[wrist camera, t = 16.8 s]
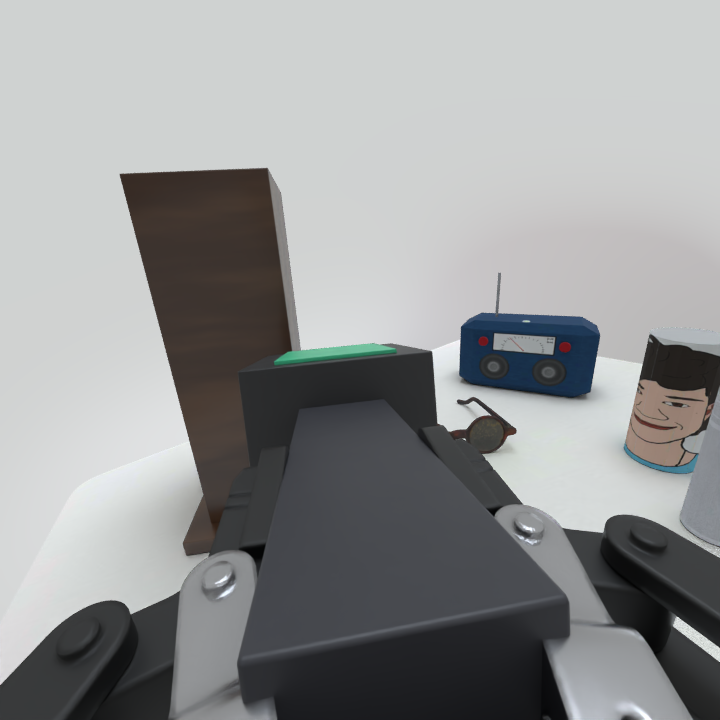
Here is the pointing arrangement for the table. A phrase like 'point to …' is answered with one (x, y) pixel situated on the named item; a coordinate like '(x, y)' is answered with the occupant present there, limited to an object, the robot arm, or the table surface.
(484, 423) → the eyeglasses
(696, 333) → the printed can
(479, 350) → the radio
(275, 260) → the stand
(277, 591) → the green-topped block with handle
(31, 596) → the table surface
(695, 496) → the bottle
